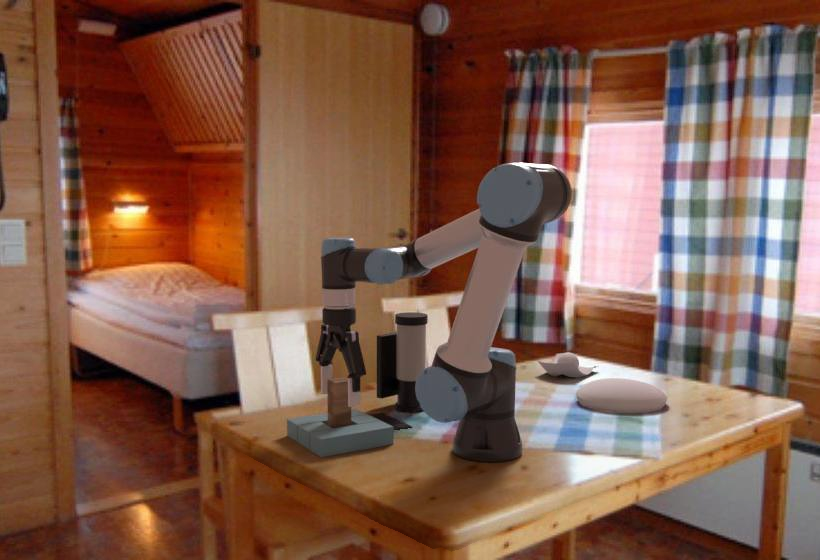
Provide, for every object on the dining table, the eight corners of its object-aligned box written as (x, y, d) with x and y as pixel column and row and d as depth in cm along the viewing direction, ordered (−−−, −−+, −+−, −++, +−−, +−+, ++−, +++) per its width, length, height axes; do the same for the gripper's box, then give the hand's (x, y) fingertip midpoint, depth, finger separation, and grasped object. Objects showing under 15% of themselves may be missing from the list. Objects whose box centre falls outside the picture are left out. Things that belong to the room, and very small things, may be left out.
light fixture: (405, 416, 212) (406, 319, 209) (376, 407, 220) (376, 314, 217) (438, 407, 221) (439, 314, 218) (408, 399, 228) (409, 309, 226)
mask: (603, 373, 262) (562, 370, 272) (602, 349, 262) (561, 347, 272) (571, 383, 247) (528, 380, 257) (570, 357, 247) (527, 355, 257)
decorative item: (583, 392, 239) (569, 409, 220) (584, 368, 238) (570, 384, 220) (669, 400, 230) (662, 419, 212) (670, 376, 229) (663, 392, 211)
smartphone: (356, 419, 211) (388, 434, 198) (356, 415, 211) (388, 430, 198) (381, 415, 215) (414, 429, 202) (381, 411, 215) (414, 425, 202)
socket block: (393, 444, 189) (393, 426, 189) (321, 457, 180) (320, 439, 179) (355, 424, 204) (355, 408, 204) (287, 435, 195) (286, 419, 195)
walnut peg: (351, 441, 191) (351, 380, 190) (335, 443, 189) (335, 382, 188) (343, 436, 195) (343, 377, 193) (327, 439, 193) (327, 379, 191)
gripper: (381, 311, 180) (382, 408, 182) (329, 299, 201) (330, 386, 203) (350, 314, 176) (351, 413, 178) (300, 301, 197) (302, 390, 199)
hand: (340, 399), depth 191 cm, fingers open, 13 cm apart
